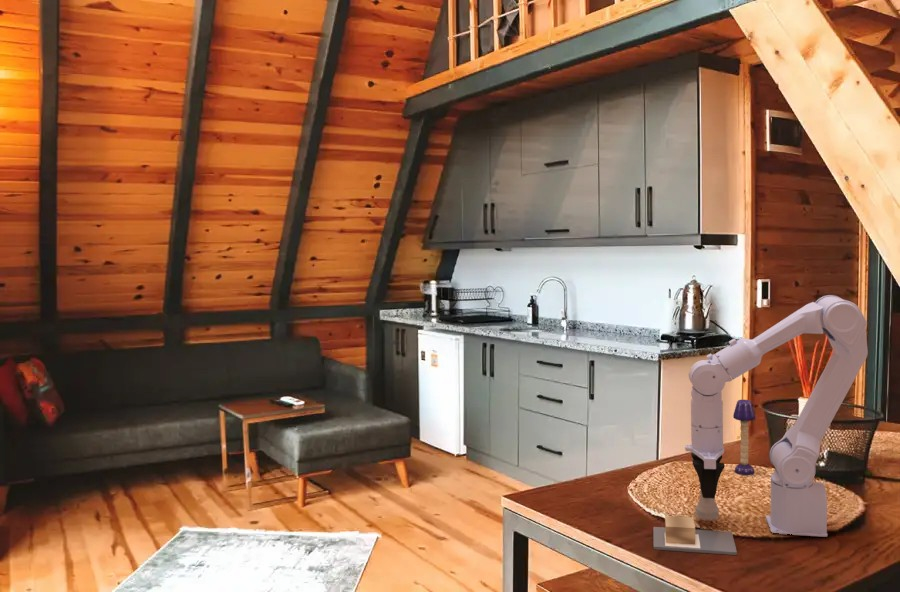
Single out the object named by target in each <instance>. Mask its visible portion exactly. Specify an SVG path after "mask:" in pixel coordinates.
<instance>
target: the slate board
mask: <svg viewBox="0 0 900 592" xmlns="http://www.w3.org/2000/svg"><path fill="white" fill-rule="evenodd" d="M652 532H653V536H652V537H653V542H652V543H653V550H657V551H660V550H661V551H672V552H684V553H685V552H686V553H687V552H688V553H701V554H702V553H703V554H716V555H729V556H731V555H733V556H738V552H737V547H736V543H735V540H734V535H733V532H732V531H728V530H727V531H722V530H710V529H709V530H708V529H696V528H695V544H680V543H666V535H665V526H663V527H662V526H661V527H660V526H653V531H652Z"/></svg>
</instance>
